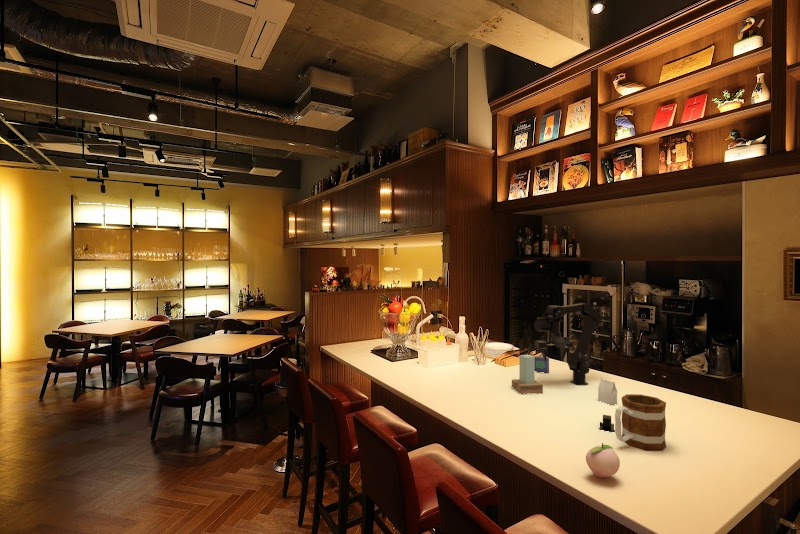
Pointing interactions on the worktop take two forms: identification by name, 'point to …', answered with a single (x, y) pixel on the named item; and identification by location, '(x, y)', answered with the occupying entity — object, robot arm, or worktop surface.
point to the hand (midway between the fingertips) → (553, 360)
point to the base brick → (527, 387)
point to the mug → (641, 422)
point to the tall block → (527, 369)
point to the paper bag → (607, 392)
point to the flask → (541, 364)
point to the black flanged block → (607, 424)
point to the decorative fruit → (603, 460)
